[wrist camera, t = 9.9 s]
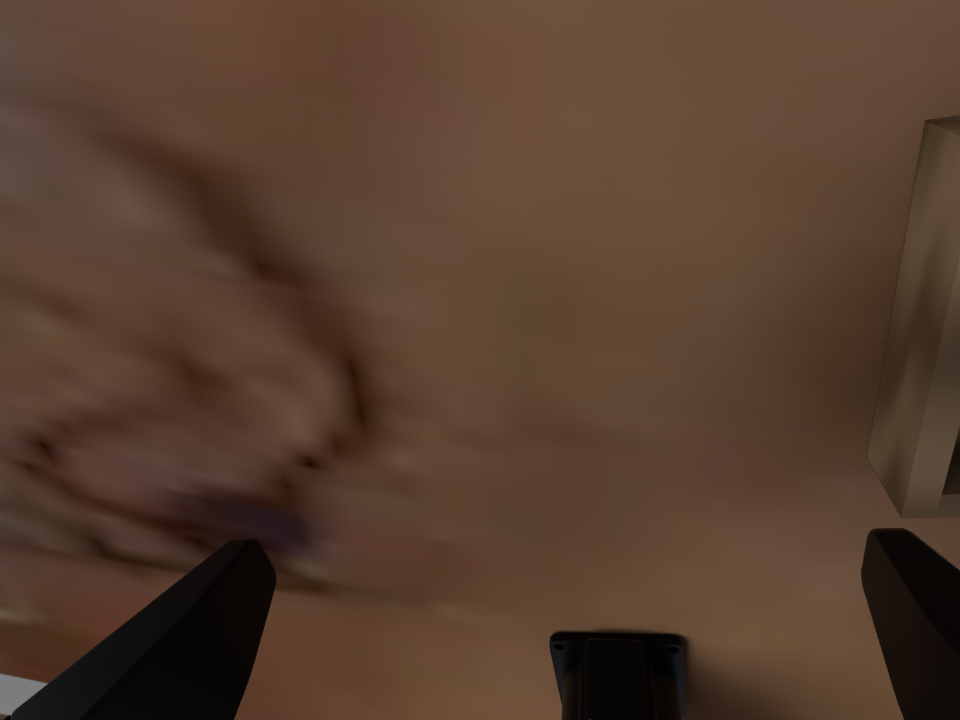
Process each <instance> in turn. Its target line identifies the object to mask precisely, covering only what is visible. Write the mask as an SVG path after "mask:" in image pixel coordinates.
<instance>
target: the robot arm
mask: <svg viewBox="0 0 960 720" xmlns="http://www.w3.org/2000/svg"><path fill="white" fill-rule="evenodd" d="M861 579H862V585H863V589H864V593H865V596H866V599H867V603H868V606H869V609H870V613H871V616H872V619H873V623H874V626H875V629H876V633H877V636H878V639H879V643H880V646H881V649H882V653H883V656H884V659H885V663H886V666H887V669H888V673H889V676H890V679H891V683H892V686H893V689H894V692H895V695H896V698H897V702H898V705H899V707H900V710H901V712H902V715H903V718H904V720H960V570H959V569H958V568H956V567H955V566H954V565H953V564H951V563H950V562H949V561H948V560H946V559H945V558H944V557H943V556H941V555H940V554H939V553H937V552H936V551H935V550H934V549H932V548H931V547H930V546H929V545H927V544H926V543H925V542H924V541H922V540H921V539H920V538H919V537H917V536H916V535H915V534H913V533H912V532H910V531H908V530H906V529H903V528H878V529H872V530H871V531H870V532H869V534H868V537H867V542H866V547H865V553H864V558H863V563H862V568H861ZM275 587H276V571H275V569H274V567H273V565H272V563H271V561H270V559H269V557H268V555H267V553H266V552H265V550H264V548H263V546H262V544H261V543H260V541H259V540H257V539H256V538H235V539H232V540H230V541H228V542H227V543H226V544H224V545H223V546H222V547H221V548H219V549H218V550H217V551H216V552H214V553H213V554H212V555H210V556H209V557H208V558H207V559H205V560H204V561H203V562H202V563H200V564H199V565H198V566H197V567H195V568H194V569H193V570H191V571H190V572H189V573H188V574H186V575H185V576H184V577H183V578H181V579H180V580H179V581H178V582H176V583H175V584H174V585H173V586H171V587H170V588H169V589H167V590H166V591H165V592H164V593H162V594H161V595H160V596H159V597H157V598H156V599H155V600H154V601H152V602H151V603H150V604H148V605H147V606H146V607H145V608H143V609H142V610H141V611H140V612H138V613H137V614H136V615H135V616H133V617H132V618H131V619H130V620H128V621H127V622H126V623H124V624H123V625H122V626H121V627H119V628H118V629H117V630H116V631H114V632H113V633H112V634H111V635H109V636H108V637H107V638H105V639H104V640H103V641H102V642H100V643H99V644H98V645H97V646H95V647H94V648H93V649H92V650H90V651H89V652H88V653H86V654H85V655H84V656H83V657H81V658H80V659H79V660H78V661H76V662H75V663H74V664H73V665H71V666H70V667H69V668H67V669H66V670H65V671H64V672H62V673H61V674H60V675H59V676H57V677H56V678H55V679H54V680H52V681H51V682H50V683H48V684H47V685H46V686H45V687H44V688H42V689H41V690H40V691H38V692H37V693H36V694H35V695H33V696H32V697H31V698H30V699H28V700H27V701H26V702H24V703H23V704H22V705H21V706H19V707H18V708H17V709H16V710H15V711H14V712H13V713H12V716H11V715H9V716H7V717H5V718H4V719H3V720H234V718H235V715H236V713H237V710H238V708H239V705H240V702H241V700H242V697H243V695H244V692H245V689H246V686H247V684H248V681H249V678H250V675H251V672H252V668H253V665H254V662H255V658H256V655H257V651H258V648H259V644H260V641H261V637H262V633H263V630H264V626H265V623H266V619H267V615H268V612H269V608H270V605H271V601H272V598H273V594H274V590H275ZM549 647H550V652H551V656H552V661H553V666H554V670H555V675H556V680H557V684H558V689H559V694H560V699H561V703H562V720H681V718H683V717H685V716H686V688H685V656H684V644H683V641H682V640H681V639H680V638H678V637H674V636H638V635H594V634H554V635H552V636H551V637H550V646H549Z"/></svg>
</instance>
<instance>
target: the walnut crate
mask: <svg viewBox="0 0 960 720" xmlns="http://www.w3.org/2000/svg"><path fill="white" fill-rule="evenodd" d="M867 458H868V460H869V462H870V463H871V465H872V467H873V469H874V470H875V472H876V474H877V476H878V478H879V479H880V481H881V483H882V485H883V486H884V488H885V490H886V492H887V494H888V495H889V497H890V499H891V501H892V502H893V504H894V506H895V508H896V510H897V511H898V513H899V515H900V517H901V518H921V517H960V116H953V117H946V118H939V119H933V120H926V121H925V125H924V131H923V136H922V142H921V148H920V154H919V160H918V165H917V171H916V177H915V183H914V189H913V194H912V200H911V206H910V212H909V218H908V223H907V229H906V235H905V241H904V247H903V252H902V258H901V264H900V270H899V276H898V281H897V287H896V293H895V299H894V305H893V311H892V316H891V322H890V328H889V334H888V340H887V345H886V351H885V357H884V363H883V369H882V374H881V380H880V386H879V392H878V398H877V403H876V409H875V415H874V421H873V427H872V432H871V438H870V444H869V450H868V456H867Z"/></svg>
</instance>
